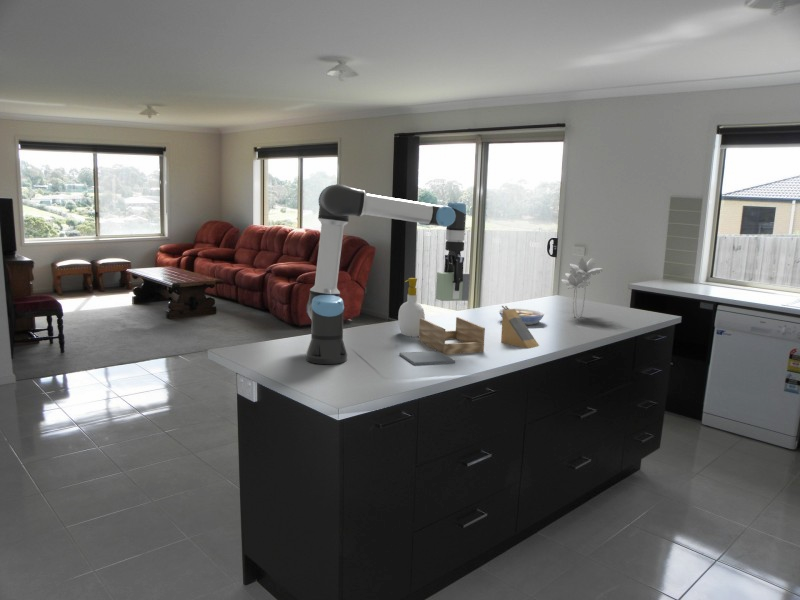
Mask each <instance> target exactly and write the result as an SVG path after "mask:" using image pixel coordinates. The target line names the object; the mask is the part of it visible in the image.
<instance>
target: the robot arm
mask: <svg viewBox="0 0 800 600" xmlns="http://www.w3.org/2000/svg"><path fill="white" fill-rule="evenodd" d="M318 205H319V206H318V207H319V208H318V216H317V219H318V221H319V222H320V224H321V225H320V226H321V227H320V235H319V241H318V242H319V244H318V253H317V259H316V260H317V262H316V270H315V279H314V280H315V281H314V285H313V286H312V287H311V288H309V297H308V301H307V303H306V313H307V315H308V318H309V319H310V320H311V325H310V326H311V337H310V338H311V339H310V342H309V345H308V347H307V351H306V357H305V360H306V361H307V362H309V363H312V364H319V365H334V364H335V365H336V364H337V365H338V364H342V363H345V362H347V361H348V353H347V349H346V346H345V343H344V342H345V341H344V310H345V305H344V300H343V298H342V297H340V296H341V291H340V290H339V289H338V280H339V271H340V261H341V254H342V253H341V252H342V248H343V247H342V245H343V238H344V237H343V236H344V227H345V226H346V225H347V224H349V221H350V216H352V217H363V216H364V215H366V216H372V217H379V218H386V219H391V220H392V219H393V220H401V221H406V222H412V223H418V225H422V226H434V227H436V226H437V227H446V229H445V232H446V233H445V240H446V241H445V250H446V252H448V253H447V254H445V255H444V269H443V272H453V273H454V281H453V291H452V299H459V289H460V283H461V282H463V272H464V262H465V257H464V256H462V255H461V252H464V250H465V242H464V241H465V237H466V221H467V220H466V219H467V206H466V203H465V202H453V201H451V202H448V203H447V205H439V204H431V203H426V202H422V201H421V202H419V201H415V200H414V201H413V200H408V199H403V198H395V197H390V196H385V195H383V196H382V195H377V194H371V193H367V192H366V191H365V190H363V189H357V188H354V187H350V186H347V185H345V184H339V183H338V184H337V183H335V184H332V185H328V186H326V187H324V188H323V190H322V191H320V193H319V196H318Z"/></svg>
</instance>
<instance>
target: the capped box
mask: <svg viewBox="0 0 800 600" xmlns="http://www.w3.org/2000/svg"><path fill="white" fill-rule="evenodd" d="M470 276H471V274H470V273H468V272H464V271H463V282H461V283H460V289H459V299H452V291H453V281H454V273H453V272H444V271H443V272H442V271H437V272H436V281H435V282H436V284H435V285H436V287H435V299H436V300H438V301H441V302H458V301H459V302H460V301H461V302H463V301H465V302H466V301H467V302H469V299H470V298H469V295H470V281H471V280H470Z"/></svg>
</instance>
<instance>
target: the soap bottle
mask: <svg viewBox="0 0 800 600" xmlns="http://www.w3.org/2000/svg"><path fill="white" fill-rule="evenodd" d="M417 281H418V278H416V277H409V278H408V279H407V280H405V281H404V283H406V282H408V285H409V287H408V290H407V291H408V293H407V297H406V298H407V301H406V302H403V303H402V304H401V305H400V307H399V309H398V316H397V319H398V321H397V322H398V327H399V331H400V334H401V335H404V336H406V337H411V336H412V337H413V338H417V337H418V336H419V326H420V318H422V319H424V320H426V319H425V317H426V314H425V311H424V308H423V307H422V305H421V304H420V303H419V302H418V301H417V298H418V294H417ZM418 338H419V337H418Z"/></svg>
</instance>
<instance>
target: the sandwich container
mask: <svg viewBox="0 0 800 600" xmlns="http://www.w3.org/2000/svg"><path fill="white" fill-rule="evenodd" d="M500 338H501V339H500V343H503V344H507V345H512V346H514V347H519V348H524V349H528V350H529V349H533V348H534V349H535V348H537V347H539V346H540V344H539V342H538V341H537V340H536V339H535V337H534V336H533V335H532V332H531V331H530V330H529V328H528V327H527V325H525V324H524V322H523V321H522V319H521V318H520V316H519V315H518V313H517V312H516V310H515V309H509V310H503V315H502V317H501V337H500Z"/></svg>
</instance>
